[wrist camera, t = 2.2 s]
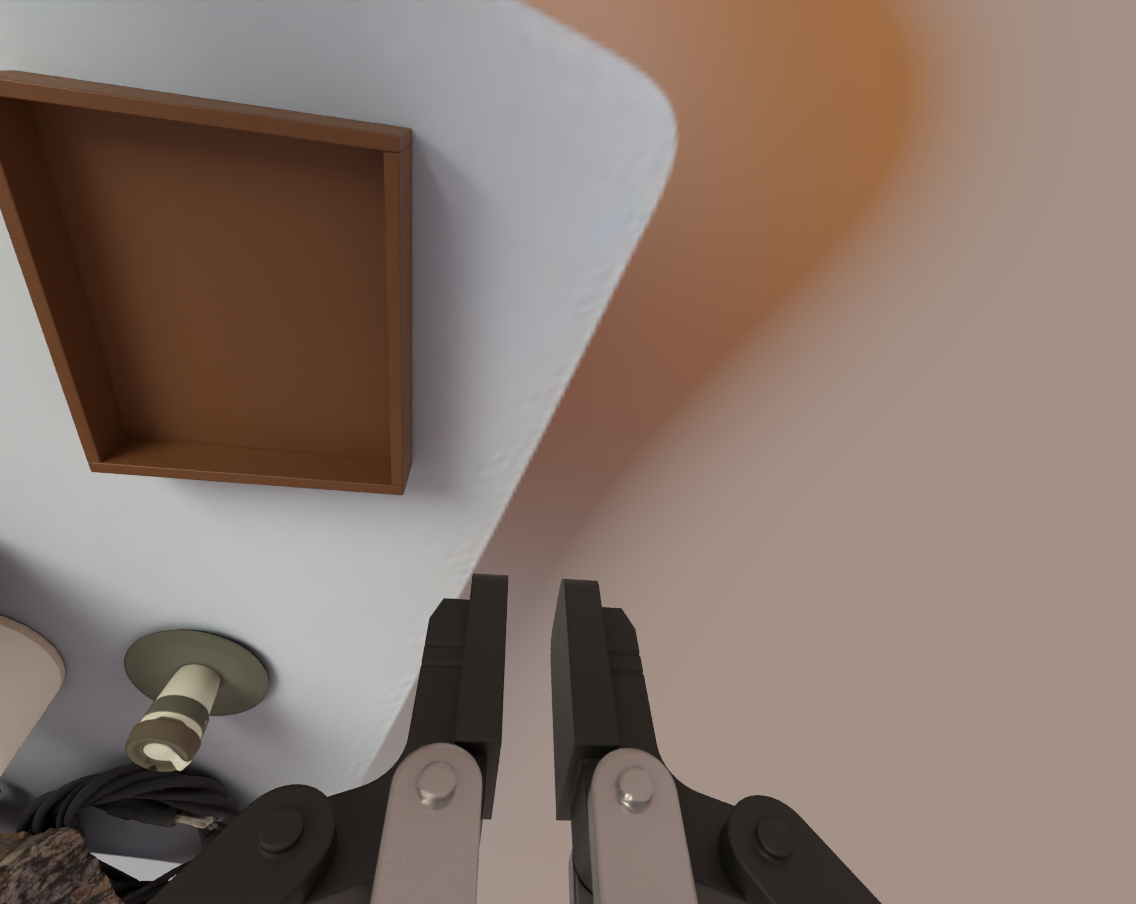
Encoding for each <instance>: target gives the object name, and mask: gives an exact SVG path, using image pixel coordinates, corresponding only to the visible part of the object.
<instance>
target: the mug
mask: <svg viewBox="0 0 1136 904" xmlns="http://www.w3.org/2000/svg"><path fill="white" fill-rule="evenodd" d="M64 677H65V668H64V664H63V660H62V658H61V657H60V655H59V654H58V652H57V651H56V649H55V648H54V647H53V646H52V645H51V644H50V643H49V642H48V641H47V640H46V639H45V638H44V637H42V636H41V635H39V634H38V633H36V632H35V631H33V630H32V629H30V628H28V627H27V626H25V625H23V624H21V623H18V622H16V621H14V620H12V619H9V618H7V617H5V616H1V615H0V776H1V775H2V774H3V772H4V771H5V769H6V768H7V766H8V765H9V763H10V762H11V760H12V759H13V757H14V756H15V754H16V753H17V751H18V750H19V748H20V747H21V746H22V744H23V743H24V741H25V740H26V738H27V737H28V735H29V734H30V732H31V731H32V729H33V728H34V726H35V725H36V723H37V722H38V721H39V719H40V718H41V716H42V715H43V713H44V712H45V710H46V709H47V707H48V706H49V704H50V703H51V701H52V700H53V698H54V697H55V696H56V694H57V693H58V691H59V690H60V688H61V687H62V685H63V681H64Z"/></svg>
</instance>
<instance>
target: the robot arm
mask: <svg viewBox="0 0 1136 904" xmlns="http://www.w3.org/2000/svg"><path fill="white" fill-rule="evenodd" d="M507 595H508V576H507V575H490V574H475V573H473V576H472V585H471V594H470V600H464V599H463V600H462V599H446V598H444V599H443V600H442V602H441V603H440V604H439V606H438V607H437V609H436V610H435V611H434V613H433V614H432V615H431V617H430V619H429V624H428V630H427V635H426V641H425V646H424V652H423V658H422V665H421V669H420V674H419V680H418V686H417V691H416V697H415V702H414V708H413V713H412V719H411V724H410V730H409V736H408V740H407V744H406V747H405V749H404V751H403V753H402V755H401V756H400V758H399V759H398V761H397V762H396V763H395V764H394V766H393V767H392V768H391V769H390V770H389V771H387V772H386V773H385V774H384V775H382V776H381V777H380V778H378V779H376V780H375V781H373V782H371V783H369V784H366V785H364V786H361V787H358V788H355V789H351V790H348V791H345V792H342V793H338V794H335V795H332V796H329V797H326V796H325V795H324V794H323V793H322V792H321V791H319V790H318V789H316V788H314V787H311V786H308V785H301V784H293V785H286V786H282V787H279V788H276V789H273V790H271V791H269V792H267V793H265V794H264V795H262V796H260V797H259V798H257V799H256V800H255V801H254V802H253V803H251V804H250V805H249V806H248V807H247V808H246V809H245V810H244V811H243V812H242V813H241V814H240V815H239V816H237V817H236V818H235V819H234V820H233V821H232V822H231V823H230V824H229V825H228V826H227V827H226V828H225V829H224V830H223V831H222V832H221V833H220V834H219V835H218V836H217V837H215V838H214V839H213V840H212V841H211V842H210V843H209V844H208V845H207V846H206V847H205V848H204V849H203V850H202V851H201V852H200V853H199V854H198V855H197V856H196V857H195V858H194V859H192V860H191V861H190V862H189V863H188V864H187V865H186V866H185V867H184V868H183V869H182V870H181V871H180V872H179V873H178V874H177V875H176V876H175V877H174V878H173V879H172V880H170V881H169V882H168V883H167V884H166V885H165V886H164V887H163V888H162V889H161V890H160V891H159V892H158V893H157V894H156V895H155V896H154V897H153V898H152V899H151V900H150V901H148V902H147V903H146V904H476V899H477V898H476V897H477V879H478V858H479V846H480V838H481V830H482V821H483V819H491V817H492V809H493V802H494V794H495V787H496V779H497V771H498V764H499V757H500V749H501V741H502V717H503V691H504V668H505V643H506V619H507ZM551 679H552V680H551V683H552V710H553V737H554V766H555V791H556V792H555V794H556V820H571V828H572V845H573V848H572V851H571V854H570V859H569V895H570V904H881V903H880V902H879V900H878V899H877V898H876V897H875V896H874V895H873V894H872V893H871V892H870V891H869V890H868V889H867V888H866V887H865V886H864V884H863V883H862V882H861V881H860V880H859V879H858V878H857V877H856V876H855V875H854V874H853V873H852V872H851V870H849V868H848V867H847V866H846V865H845V864H844V863H843V862H842V861H841V860H840V859H839V858H838V857H837V855H836V854H835V853H833V851H832V850H831V849H830V848H829V847H828V846H827V845H826V844H825V843H824V842H823V840H822V839H821V838H820V837H819V836H818V835H817V834H816V833H815V832H814V831H813V830H812V829H811V828H810V827H809V826H808V824H807V823H806V822H805V821H804V820H803V819H802V818H801V817H800V816H799V815H798V814H797V813H796V812H795V811H794V810H792V809H791V808H790V807H789V806H787V805H786V804H784V803H782V802H781V801H779V800H776V799H774V798H772V797H767V796H761V795H755V796H749V797H746V798H744V799H743V800H741V801H739V802H738V803H737V804H736V805H735V806H733V805H731V804H728V803H725V802H722V801H720V800H717V799H714V798H711V797H709V796H706V795H704V794H701V793H698V792H696V791H694V790H692V789H690V788H689V787H687V786H685V785H684V784H683V783H681V782H680V781H678V780H677V778H675V776H674V775H673V774H672V773H671V772H670V771H669V770H668V768H667V767H666V766H665V764H664V762H663V761H662V759H661V756H660V754H659V751H658V748H657V743H656V738H655V733H654V727H653V722H652V717H651V711H650V706H649V701H648V695H647V690H646V685H645V679H644V675H643V669H642V664H641V658H640V656H639V648H638V642H637V637H636V631H635V628H634V627H633V625H632V624H631V622H630V620H629V619H628V618H627V616H626V614H625V613H624V611H623V610H622V609H621V608H606V607H602V606H601V598H600V590H599V585H598V582H597V581H589V580H572V579H562V581H561V584H560V590H559V595H558V601H557V606H556V612H555V618H554V623H553V629H552V637H551Z"/></svg>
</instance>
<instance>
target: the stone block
mask: <svg viewBox="0 0 1136 904" xmlns="http://www.w3.org/2000/svg"><path fill="white" fill-rule="evenodd" d="M0 904H125V903H124V902H123V901H122V900H121V899H120V898H119V897H118V896H117V895H116V893H115V890H114V889H113V887H112V885H111V883H110V881H109V879H108V877H107V875H106V874H105V873H104V872H102V871H101V864H100V862H99V861H98V859H97V858H96V857H95V856H93V855H92V854H91V853H90V852H89V851H88V849H87V848H86V845H85V842H84V838H83V837H82V835H81V834H80V833H79V832H78V831H77V830H76V829H71V828H68V827H65V828H57V829H53V828H49V829H48V830H47V831H45V832H44V833H40V834H37V835H31V834H29V833H27V832H25V831H23V832H17V833H7V834H1V835H0Z"/></svg>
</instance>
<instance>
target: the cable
mask: <svg viewBox="0 0 1136 904" xmlns="http://www.w3.org/2000/svg"><path fill="white" fill-rule="evenodd" d="M88 806H93V807H95V808H98V809H102V810H103V811H106V813H107V814H109V815H112V816H115V817H118V818H122V819H124V820H134V821H138V822H142V823H147V824H153V825H158V826H164V827H169V828H171V827H173V826H175V825H176V824H177V823H179V822H180V823H185V824H189V825H192V826H195V827H198V830H199V833H200V836H201V840H202V844H203V848H205V847H206V846H207V845H208V844H209V843H210V842H211V841H212V840H213V839H214V838H215V837H217V836H218V835H219V834H220V833H221V832H222V831H223V830H224V829H225V828H226V827H227V826H228V825H229V824H230V823H231V822H232V821H233V820H234V819H235V818H236V817H237V816H239V815H240V809H239V807H238V805H237V804H236V803H235V802H234V801H233V800H231V799H230V798H229V797H228V794H227V791H226V789H225V788H224V787H223V786H222V785H221V784H220V783H219V782H217V781H215V780H213V779H210V778H207V777H202V776H190V775H183V774H180V773H176V772H174V771H170V772H161V771H154V770H149V769H146V768H143V767H141V766H139V765H137V764H130V765H125V766H121V767H118V768H115V769H112V770H110V771H108V772H106V773H101V774H94V775H90V776H86V777H82V778H80V779H77V780H75V781H72V782H70V783H68V784H67V785H65V786H63V787H61V788H60V789H58V790H56V791H52V792H49V793H46V794H44V795H42V796H40V797H38V798H37V799H35V800H34V801H33V802H32V803H30V804H29V805H28V806H27V808H26V809H25V810H24V812H23V813H22V815H21V817H20V819H19V822H18V826H17V832H23V831H25V832H27V833H29V834H31V835H37V834H40V833H44V832H45V831H47V830H48V829H49V828H53V829H57V828H65V827H68V828H71V829H76V830H77V831H78V832H79V833H80V834H81V835H82V837H83V838H84V839H85V834H84V831H83V830H82V829H80V828H79V827H78V826H77V824H78V822H79V815H78V811H79V810H81V809H82V808H84V807H88ZM98 861H99V862H100V864H101V871H102V872H104V873H105V874H106V875H107V877H108V879H109V881H110V883H111V885H112V887H113V889H114V890H115V893H116V895H117V896H118V897H119V898H120V899H121V900H122V901H123V902H124V903H125V904H146V903H147V902H148V901H150V900H151V899H152V898H153V897H154V896H155V895H156V894H157V893H158V892H159V891H160V890H161V889H162V888H163V887H164V886H165V885H166V884H167V883H168V882H169V881H168V880H169V879H170V878H171V877H173V876H174V875H176V874H178V873H179V872H180V871H181V870H182V869H183V868H184V867H185V866H186V865H187V864H188V863H189V862H190V861H188V862H186V863H184V864H182V865H180V866H178V867H176V868H174V869H172V870H171V871H169V872H167V873H166V874H164V875H163V876H161V877H159V878H157V879H156V880H154V881H138V880H137V879H135V878H133V877H131V876H129V875H127V874H126V873H124V872H122V871H120V870H118V869H116V868H114V867H112V866H110V865H108V864H106V863H104V862H102V861H100V860H99V859H98Z"/></svg>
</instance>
